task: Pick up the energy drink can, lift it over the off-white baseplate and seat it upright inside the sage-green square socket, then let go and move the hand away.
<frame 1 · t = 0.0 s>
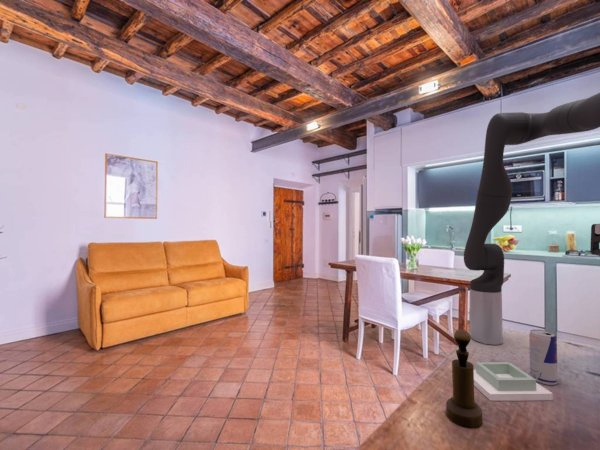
energy drink: (543, 380, 73), on the table
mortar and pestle: (464, 418, 59), on the table
baseplate: (504, 386, 70), on the table
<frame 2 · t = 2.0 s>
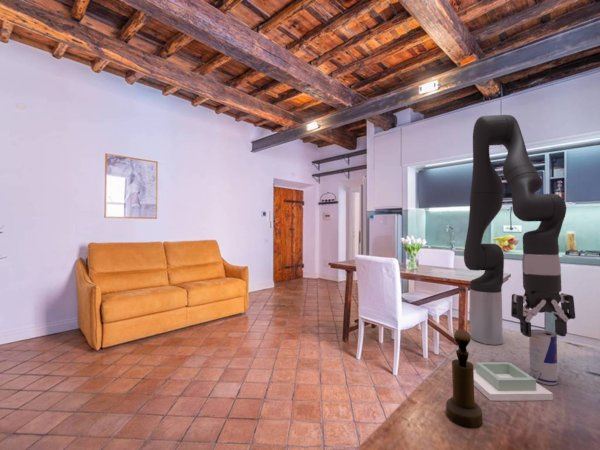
hand: (543, 335, 73), 11 cm above the table, tool pointing down, fingers open, 8 cm apart
nothing on the table moved.
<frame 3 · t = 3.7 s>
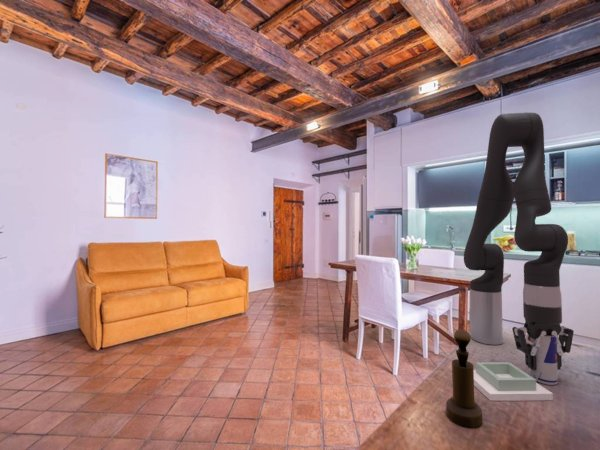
hand: (543, 368, 73), 3 cm above the table, tool pointing down, fingers closed on energy drink, 5 cm apart
energy drink: (543, 380, 73), on the table, touching gripper
everything else where it was.
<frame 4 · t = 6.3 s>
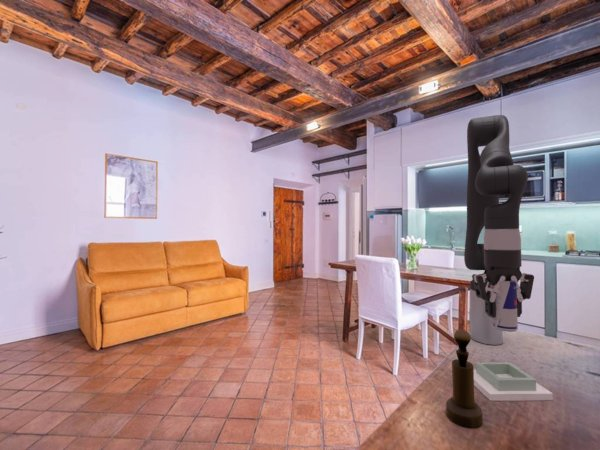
hand: (503, 316, 70), 17 cm above the table, tool pointing down, fingers closed on energy drink, 5 cm apart
energy drink: (504, 329, 70), point 14 cm above the table, touching gripper
everything else where it was.
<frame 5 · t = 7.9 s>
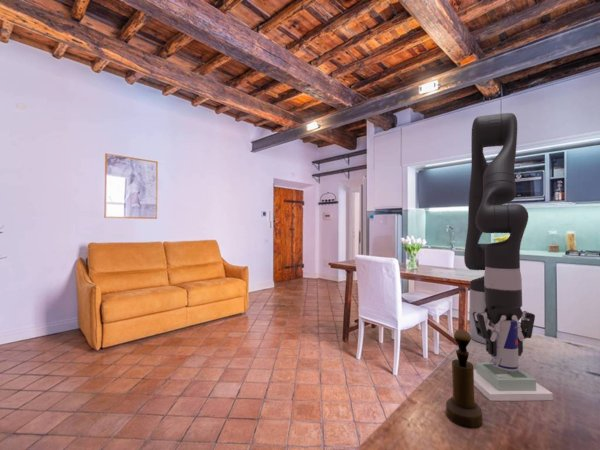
hand: (504, 354, 70), 8 cm above the table, tool pointing down, fingers closed on energy drink, 5 cm apart
energy drink: (504, 367, 70), point 5 cm above the table, touching gripper
everything else where it was.
when the fingers open (6 cm above the table, at t = 9.2 s): energy drink drops 1 cm, resting on baseplate.
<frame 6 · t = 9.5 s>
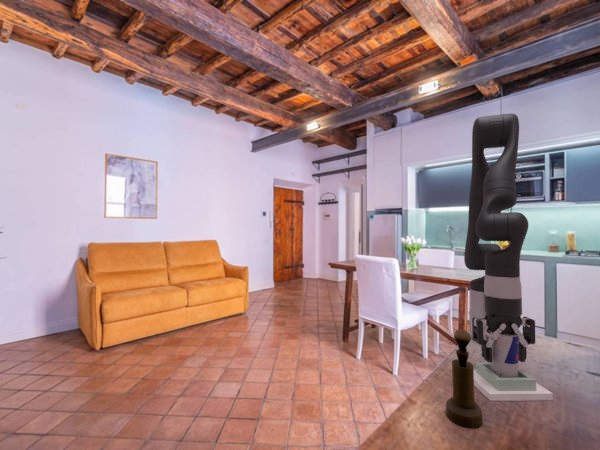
hand: (503, 360, 70), 6 cm above the table, tool pointing down, fingers open, 7 cm apart
energy drink: (504, 380, 70), point 1 cm above the table, touching baseplate
everything else where it was.
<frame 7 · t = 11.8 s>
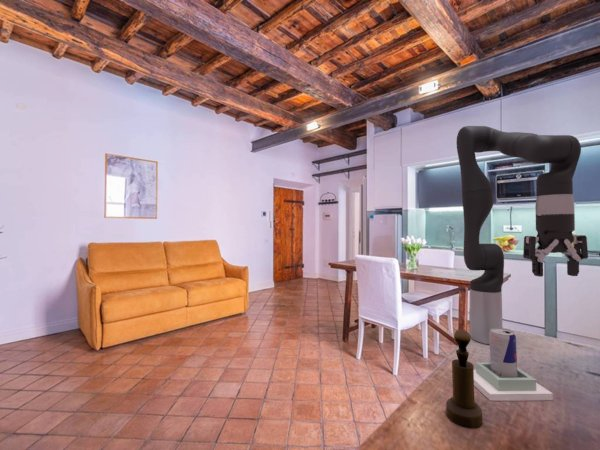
hand: (555, 275, 74), 26 cm above the table, tool pointing down, fingers open, 8 cm apart
nothing on the table moved.
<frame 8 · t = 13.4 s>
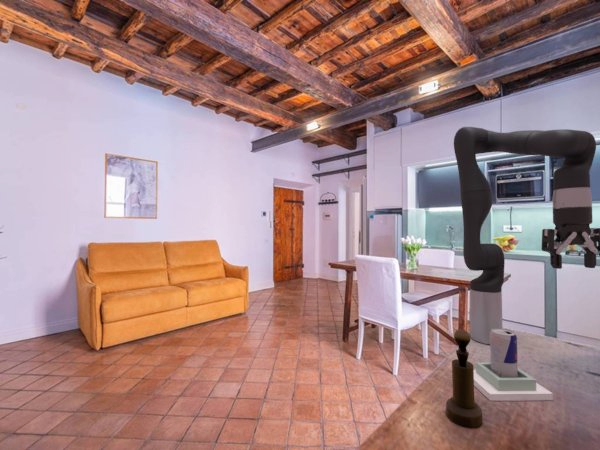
hand: (573, 268, 75), 28 cm above the table, tool pointing down, fingers open, 8 cm apart
nothing on the table moved.
at the end: energy drink 0.1 cm off-centre on the baseplate, point 1.3 cm above the baseplate's base; energy drink tilted 0°; the gripper is holding nothing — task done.
